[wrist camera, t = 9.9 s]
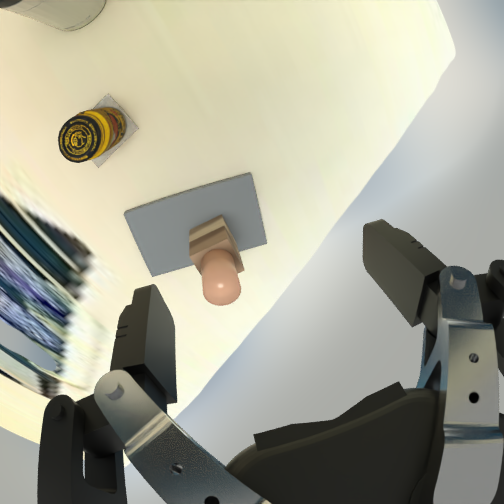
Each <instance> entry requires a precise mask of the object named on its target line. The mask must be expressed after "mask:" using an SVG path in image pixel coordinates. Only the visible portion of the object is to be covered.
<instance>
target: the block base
mask: <svg viewBox="0 0 504 504" xmlns="http://www.w3.org/2000/svg"><path fill="white" fill-rule="evenodd" d="M222 226H225V228H226V230H227V231H228V233H229V235H230V237H231V239H232V241H233V243H234V245H235V247H236V249H237V251H238V253H239V250H238V247H237V244H236V241H235V239H234V237H233V235H232V234H231V232H230V230H229V228H228V226H227V224H226V222H225V220H224V218H223V216H222V214H221V215H219V216H217V217H215V218H213V219H211V220H209V221H207V222H204V223H202V224H200V225H198V226H196V227H194V228H192V229H190V230H189V242H191V241H193V240H195V239H197V238H199V237H201V236H203V235H205V234H207V233H209V232H211V231H214V230H216V229H218V228H220V227H222Z"/></svg>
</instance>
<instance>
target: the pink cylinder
mask: <svg viewBox="0 0 504 504" xmlns="http://www.w3.org/2000/svg"><path fill="white" fill-rule="evenodd" d="M201 273H202V285H203V295H204V297H205V299H206V300H207V301H208V302H210V303H211V304H214V305H219V306H223V305H228V304H230V303H232V302H234V301H235V300H236V299H237V298H238V297H239V295H240V293H241V286H240V282H239V278H238V274H237V270H236V267H235V263H234V259H233V256H232V255H231V254H230V253H229V252H228V251H226V250H223V249H213V250H210V251H208V252H207V253H206V254H205V255H204V256H203V257H202V260H201Z"/></svg>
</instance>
